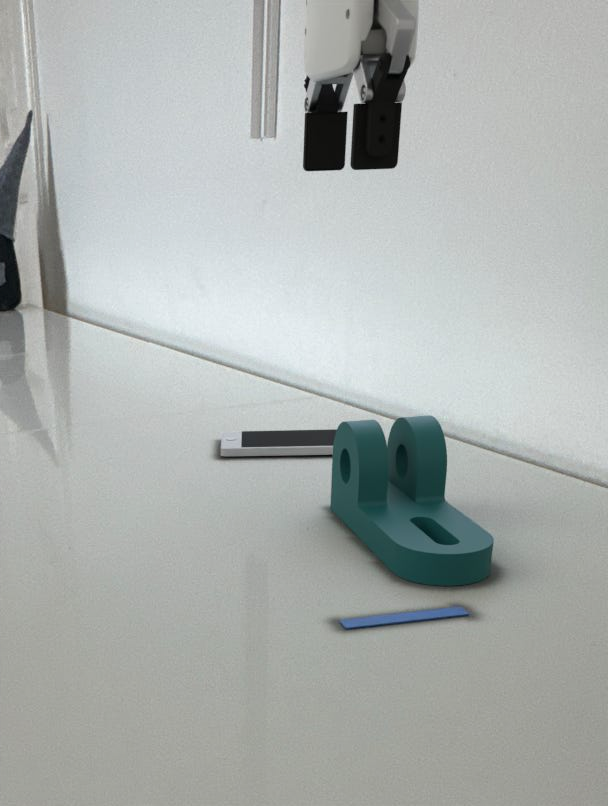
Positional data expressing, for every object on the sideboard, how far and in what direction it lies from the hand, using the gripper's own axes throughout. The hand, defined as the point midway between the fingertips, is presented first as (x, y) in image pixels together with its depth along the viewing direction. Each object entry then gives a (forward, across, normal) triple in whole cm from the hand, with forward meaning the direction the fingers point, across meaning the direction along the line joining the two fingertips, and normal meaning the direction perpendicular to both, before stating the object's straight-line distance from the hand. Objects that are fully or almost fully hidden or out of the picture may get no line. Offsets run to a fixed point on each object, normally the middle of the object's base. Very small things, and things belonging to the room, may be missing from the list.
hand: (347, 169), depth 73 cm
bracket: (+26, -10, -2) cm, 28 cm away
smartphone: (+25, +18, -4) cm, 32 cm away
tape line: (+25, -23, +4) cm, 35 cm away
